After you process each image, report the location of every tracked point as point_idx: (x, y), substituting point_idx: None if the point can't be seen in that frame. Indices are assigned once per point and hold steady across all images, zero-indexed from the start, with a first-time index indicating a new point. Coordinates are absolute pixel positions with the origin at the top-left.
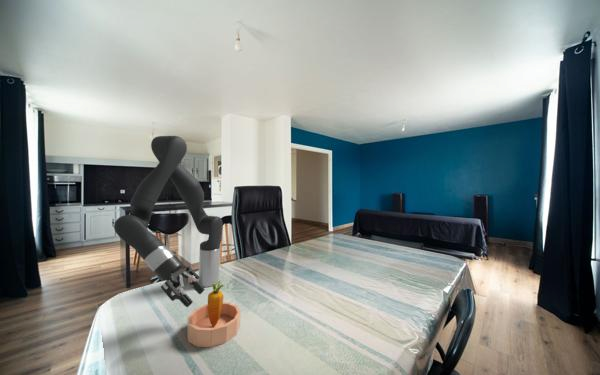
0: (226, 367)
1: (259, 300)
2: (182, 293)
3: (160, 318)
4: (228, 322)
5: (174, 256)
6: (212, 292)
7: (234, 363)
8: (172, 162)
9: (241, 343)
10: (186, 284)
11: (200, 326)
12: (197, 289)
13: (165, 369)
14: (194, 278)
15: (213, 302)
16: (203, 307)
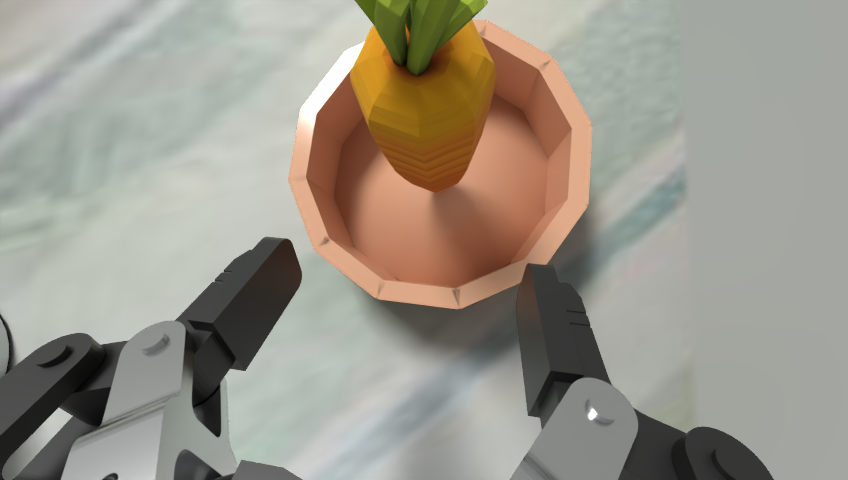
0: (671, 70)
1: (209, 31)
2: (617, 403)
3: None
4: (519, 56)
5: None
6: (420, 86)
7: (650, 47)
8: None
9: (536, 46)
10: (232, 469)
11: (433, 246)
12: (271, 305)
13: (690, 299)
14: (127, 393)
15: (493, 91)
16: (346, 251)
